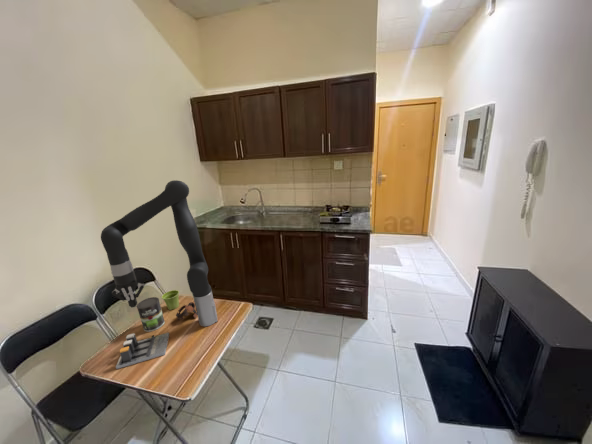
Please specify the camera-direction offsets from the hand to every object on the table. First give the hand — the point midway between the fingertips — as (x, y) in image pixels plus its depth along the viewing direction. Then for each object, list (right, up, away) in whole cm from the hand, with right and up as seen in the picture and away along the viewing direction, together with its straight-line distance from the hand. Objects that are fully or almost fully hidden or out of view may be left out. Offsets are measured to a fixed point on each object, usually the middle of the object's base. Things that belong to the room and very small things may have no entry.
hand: (133, 306), depth 110 cm
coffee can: (-4, -18, +23) cm, 29 cm away
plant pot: (-1, -14, +38) cm, 40 cm away
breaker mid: (-3, -22, +3) cm, 22 cm away
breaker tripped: (-2, -23, -2) cm, 23 cm away
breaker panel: (+2, -22, +5) cm, 23 cm away
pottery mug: (+13, -15, +28) cm, 34 cm away
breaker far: (-5, -21, +7) cm, 22 cm away
